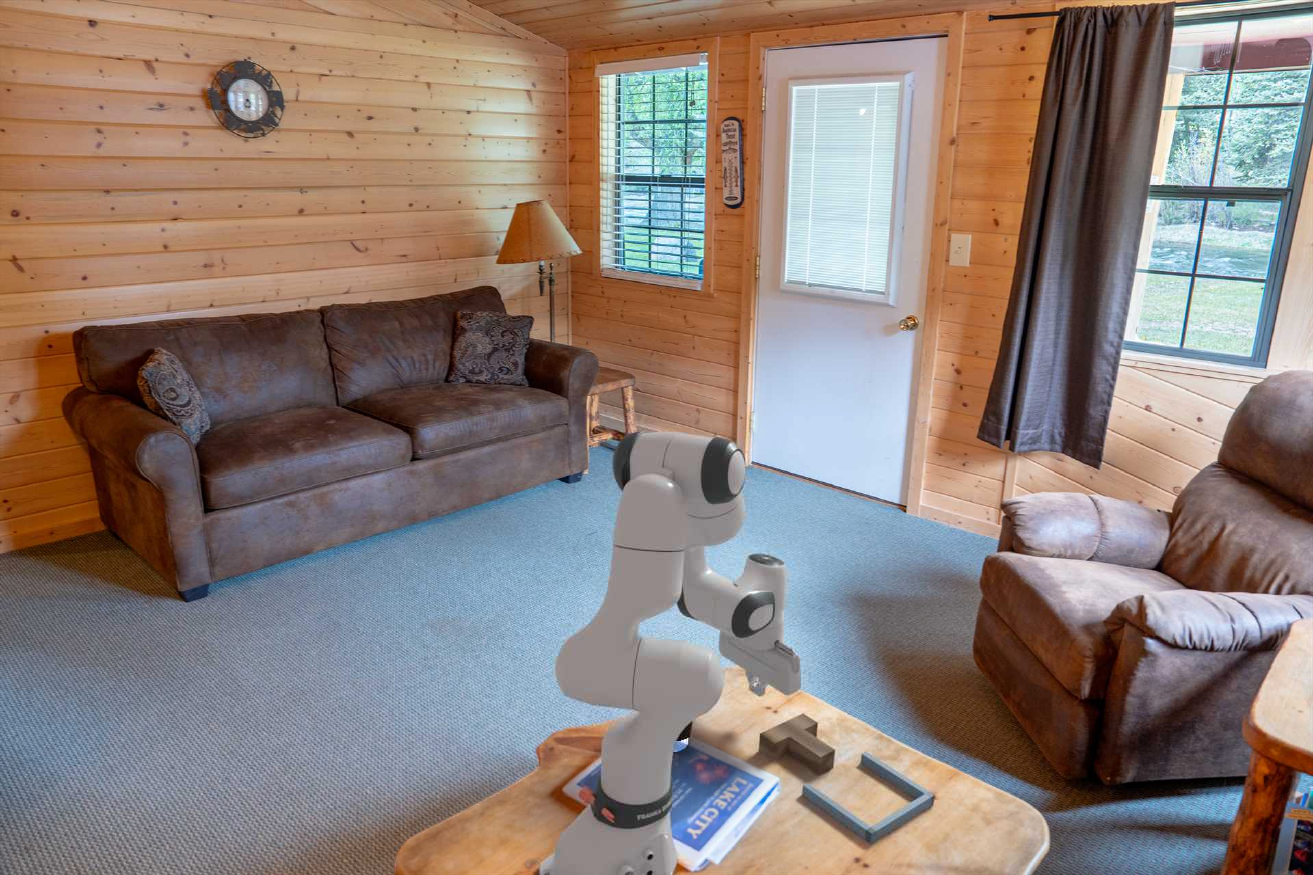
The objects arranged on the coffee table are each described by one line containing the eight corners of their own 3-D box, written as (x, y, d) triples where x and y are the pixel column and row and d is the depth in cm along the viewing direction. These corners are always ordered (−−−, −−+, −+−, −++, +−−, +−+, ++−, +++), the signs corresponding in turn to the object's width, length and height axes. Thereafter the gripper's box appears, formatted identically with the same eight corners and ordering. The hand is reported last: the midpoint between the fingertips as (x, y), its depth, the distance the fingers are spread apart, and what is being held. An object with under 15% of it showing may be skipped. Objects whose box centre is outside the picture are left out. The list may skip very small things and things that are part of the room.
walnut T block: (804, 783, 170) (805, 764, 169) (758, 751, 179) (759, 733, 178) (847, 760, 177) (849, 742, 176) (801, 730, 186) (803, 713, 185)
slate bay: (870, 843, 155) (871, 833, 154) (801, 794, 167) (802, 784, 166) (933, 804, 165) (934, 794, 165) (864, 760, 177) (865, 751, 177)
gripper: (811, 648, 177) (805, 711, 181) (737, 607, 192) (734, 666, 196) (788, 658, 173) (783, 722, 177) (715, 616, 188) (711, 675, 192)
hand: (756, 692), depth 186 cm, fingers closed
